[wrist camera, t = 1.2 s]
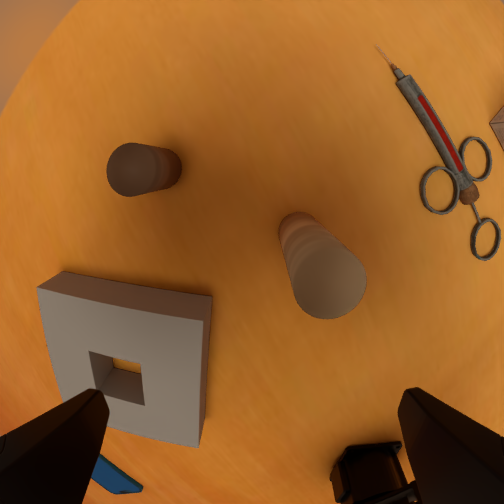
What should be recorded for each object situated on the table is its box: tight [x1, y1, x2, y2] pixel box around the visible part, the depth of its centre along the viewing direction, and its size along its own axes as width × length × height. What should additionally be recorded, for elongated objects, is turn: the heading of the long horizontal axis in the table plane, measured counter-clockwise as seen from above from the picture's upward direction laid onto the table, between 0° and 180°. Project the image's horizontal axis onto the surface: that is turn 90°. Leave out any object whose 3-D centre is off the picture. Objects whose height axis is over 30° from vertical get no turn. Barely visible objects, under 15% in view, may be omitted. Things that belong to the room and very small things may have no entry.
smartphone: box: [91, 454, 143, 494], centre depth 27 cm, size 7×1×15 cm
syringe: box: [376, 44, 501, 261], centre depth 17 cm, size 8×18×2 cm, turn 38°
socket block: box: [37, 271, 212, 448], centre depth 20 cm, size 12×12×4 cm
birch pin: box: [278, 212, 366, 319], centre depth 14 cm, size 3×3×9 cm
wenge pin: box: [107, 143, 182, 197], centre depth 16 cm, size 3×3×5 cm
